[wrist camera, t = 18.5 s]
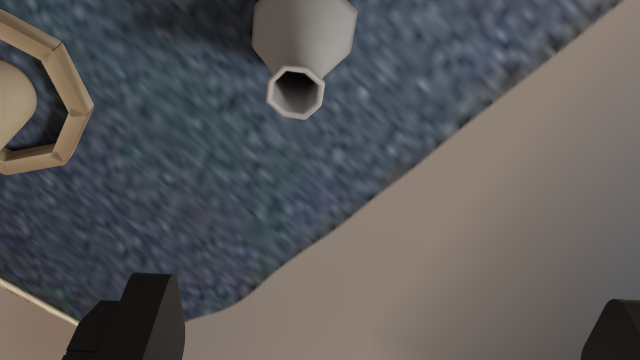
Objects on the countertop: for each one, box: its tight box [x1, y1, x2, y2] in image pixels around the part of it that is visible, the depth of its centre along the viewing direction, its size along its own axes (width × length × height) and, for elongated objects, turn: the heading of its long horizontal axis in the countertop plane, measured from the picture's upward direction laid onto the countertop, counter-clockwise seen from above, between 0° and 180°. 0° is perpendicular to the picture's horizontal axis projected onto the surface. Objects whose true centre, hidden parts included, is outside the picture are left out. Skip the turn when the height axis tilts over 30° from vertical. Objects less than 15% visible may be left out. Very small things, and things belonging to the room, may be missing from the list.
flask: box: [252, 0, 358, 120], centre depth 34 cm, size 7×7×10 cm
